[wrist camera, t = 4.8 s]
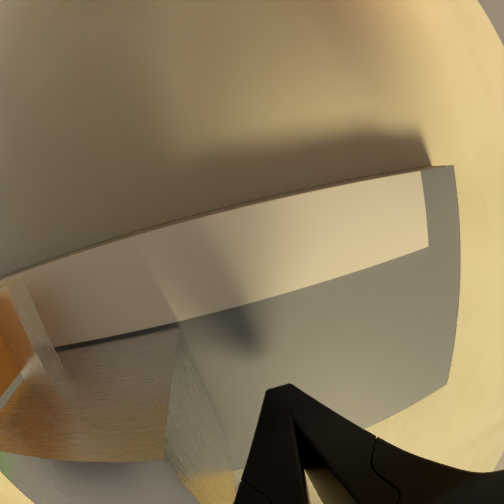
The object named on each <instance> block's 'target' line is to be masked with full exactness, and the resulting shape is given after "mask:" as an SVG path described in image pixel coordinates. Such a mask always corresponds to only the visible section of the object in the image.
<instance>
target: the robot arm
mask: <svg viewBox="0 0 504 504" xmlns="http://www.w3.org/2000/svg"><path fill="white" fill-rule="evenodd" d="M304 469H305V471H306V473H307V475H308V477H309V479H310V481H311V482H312V484H313V486H314V488H315V490H316V491H317V493H318V495H319V497H320V499H321V500H322V502H323V504H504V470H499V471H494V472H484V473H481V472H470V471H465V470H461V469H457V468H454V467H450V466H447V465H444V464H440V463H437V462H434V461H431V460H428V459H425V458H422V457H419V456H417V455H414V454H411V453H409V452H406V451H404V450H402V449H400V448H398V447H396V446H394V445H392V444H390V443H388V442H386V441H384V440H382V439H381V438H379V437H377V438H376V436H375V435H373V434H372V433H370V432H368V431H366V430H365V429H363V428H361V427H359V426H358V425H356V424H354V423H353V422H351V421H349V420H348V419H346V418H344V417H343V416H341V415H339V414H338V413H336V412H335V411H333V410H331V409H330V408H328V407H327V406H325V405H323V404H322V403H320V402H319V401H317V400H316V399H314V398H313V397H311V396H310V395H308V394H306V393H305V392H303V391H302V390H300V389H299V388H297V387H296V386H295V385H293V384H291V383H287V384H284V385H281V386H277V387H274V388H270V389H267V390H266V392H265V395H264V399H263V403H262V407H261V411H260V414H259V418H258V422H257V426H256V429H255V433H254V437H253V440H252V444H251V447H250V451H249V455H248V458H247V461H246V465H245V468H244V472H243V475H242V478H241V482H240V485H239V488H238V491H237V494H236V497H235V500H234V502H233V504H311V503H310V498H309V492H308V487H307V482H306V476H305V471H304Z"/></svg>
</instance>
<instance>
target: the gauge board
mask: <svg viewBox="0 0 504 504" xmlns="http://www.w3.org/2000/svg"><path fill="white" fill-rule="evenodd" d="M21 277H24V278H25V281H26V284H27V286H28V289H29V292H30V295H31V297H32V300H33V302H34V305H35V307H36V310H37V312H38V315H39V317H40V319H41V322H42V324H43V326H44V328H45V331H46V333H47V335H48V337H49V339H50V341H51V343H52V345H53V347H54V349H55V351H59V350H65V349H71V348H77V347H82V346H88V345H93V344H99V343H104V342H109V341H114V340H119V339H124V338H129V337H133V336H138V335H143V334H147V333H152V332H156V331H161V330H165V329H169V328H174V327H178V326H180V328H181V330H182V333H183V336H184V339H185V341H186V344H187V346H188V349H189V352H190V354H191V357H192V359H193V362H194V364H195V367H196V369H197V372H198V374H199V377H200V379H201V381H202V384H203V386H204V388H205V391H206V393H207V395H208V398H209V400H210V402H211V404H212V407H213V409H214V411H215V413H216V415H217V418H218V420H219V422H220V424H221V426H222V428H223V430H224V433H225V435H226V437H227V439H228V446H229V453H230V460H231V467H232V470H237V469H242V468H245V465H246V461H247V458H248V455H249V451H250V447H251V444H252V440H253V437H254V433H255V429H256V426H257V422H258V418H259V414H260V411H261V407H262V403H263V399H264V395H265V392H266V390H267V389H270V388H274V387H277V386H281V385H284V384H287V383H291V384H293V385H295V386H296V387H297V388H299V389H300V390H302V391H303V392H305V393H306V394H308V395H310V396H311V397H313V398H314V399H316V400H317V401H319V402H320V403H322V404H323V405H325V406H327V407H328V408H330V409H331V410H333V411H335V412H336V413H338V414H339V415H341V416H343V417H344V418H346V419H348V420H349V421H351V422H353V423H354V424H356V425H358V426H359V427H361V428H363V429H365V428H367V427H369V426H372V425H374V424H376V423H378V422H380V421H382V420H384V419H386V418H388V417H390V416H392V415H394V414H396V413H398V412H400V411H402V410H404V409H406V408H407V407H409V406H411V405H413V404H415V403H416V402H418V401H420V400H422V399H423V398H425V397H427V396H428V395H430V394H432V393H433V392H435V391H437V390H438V389H440V388H441V387H443V386H444V385H446V384H447V381H448V377H449V372H450V366H451V361H452V355H453V349H454V342H455V335H456V327H457V317H458V306H459V292H460V224H459V209H458V198H457V189H456V180H455V173H454V166H453V165H451V166H429V167H423V168H416V169H410V170H404V171H398V172H392V173H386V174H380V175H375V176H369V177H364V178H358V179H353V180H348V181H343V182H338V183H333V184H328V185H323V186H318V187H313V188H308V189H304V190H299V191H294V192H290V193H285V194H281V195H277V196H272V197H268V198H263V199H259V200H255V201H251V202H247V203H242V204H238V205H234V206H230V207H226V208H222V209H218V210H214V211H210V212H207V213H203V214H199V215H195V216H191V217H188V218H184V219H180V220H176V221H173V222H169V223H166V224H162V225H159V226H155V227H151V228H148V229H145V230H141V231H138V232H134V233H131V234H128V235H124V236H121V237H118V238H114V239H111V240H108V241H105V242H101V243H98V244H95V245H92V246H89V247H86V248H82V249H79V250H76V251H73V252H70V253H67V254H64V255H61V256H58V257H55V258H52V259H50V260H47V261H44V262H41V263H38V264H35V265H32V266H30V267H27V268H24V269H21V270H19V271H16V272H13V273H11V274H8V275H5V276H3V277H0V285H1V284H4V283H7V282H10V281H13V280H15V279H18V278H21ZM23 379H24V378H23V376H22V374H21V373H20V374H19V375H18V376H17V377H16V379H15V380H14V381H13V382H12V383H11V385H10V386H9V387H8V389H7V390H6V391H5V392H4V394H3V395H2V396H1V398H0V410H1V409H2V408H3V406H4V405H5V403H6V402H7V401H8V399H9V398H10V397H11V395H12V394H13V393H14V391H15V390H16V389H17V387H18V386H19V385H20V383H21V382H22V381H23Z"/></svg>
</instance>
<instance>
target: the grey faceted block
mask: <svg viewBox="0 0 504 504" xmlns="http://www.w3.org/2000/svg"><path fill="white" fill-rule="evenodd" d="M0 334H1V336H2V338H3V340H4V342H5V344H6V346H7V348H8V350H9V352H10V354H11V356H12V358H13V360H14V362H15V364H16V365H17V367H18V369H19V371H20V373H21V374H22V376H23V378H24V379H23V381H22V382H21V383H20V385H19V386H18V387H17V389H16V390H15V391H14V393H13V394H12V395H11V397H10V398H9V399H8V401H7V402H6V403H5V405H4V406H3V408H2V409H1V410H0V471H1V472H2V473H3V474H4V475H5V476H6V477H7V478H8V479H9V480H10V481H11V482H12V483H13V484H14V485H15V486H16V487H17V488H18V489H19V490H20V491H21V492H22V493H23V494H24V495H26V496H27V497H28V498H29V499H30V500H31V501H32V502H34V503H35V504H233V502H234V500H235V497H236V492H235V486H234V480H233V473H232V467H231V460H230V453H229V446H228V439H227V437H226V435H225V433H224V430H223V428H222V426H221V424H220V422H219V420H218V418H217V415H216V413H215V411H214V409H213V407H212V404H211V402H210V400H209V398H208V395H207V393H206V391H205V388H204V386H203V384H202V381H201V379H200V377H199V374H198V372H197V369H196V367H195V364H194V362H193V359H192V357H191V354H190V352H189V349H188V346H187V344H186V341H185V339H184V336H183V333H182V330H181V328H180V326H178V327H174V328H169V329H165V330H161V331H156V332H152V333H147V334H143V335H138V336H133V337H129V338H124V339H119V340H114V341H109V342H104V343H99V344H93V345H88V346H82V347H77V348H71V349H65V350H59V351H55V349H54V347H53V345H52V343H51V341H50V339H49V337H48V335H47V333H46V331H45V328H44V326H43V324H42V322H41V319H40V317H39V315H38V312H37V310H36V307H35V305H34V302H33V300H32V297H31V295H30V292H29V289H28V286H27V284H26V281H25V278H24V277H21V278H18V279H15V280H13V281H10V282H7V283H4V284H1V285H0Z"/></svg>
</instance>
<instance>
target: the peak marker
mask: <svg viewBox="0 0 504 504" xmlns="http://www.w3.org/2000/svg"><path fill="white" fill-rule="evenodd" d="M19 374H20V371H19V369H18V367H17V365H16V364H15V362H14V360H13V358H12V356H11V354H10V352H9V350H8V348H7V346H6V344H5V342H4V340H3V338H2V336H1V334H0V398H1V396H2V395H3V394H4V392H5V391H6V390H7V389H8V387H9V386H10V385H11V383H12V382H13V381H14V380H15V379H16V377H17V376H18V375H19Z"/></svg>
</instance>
